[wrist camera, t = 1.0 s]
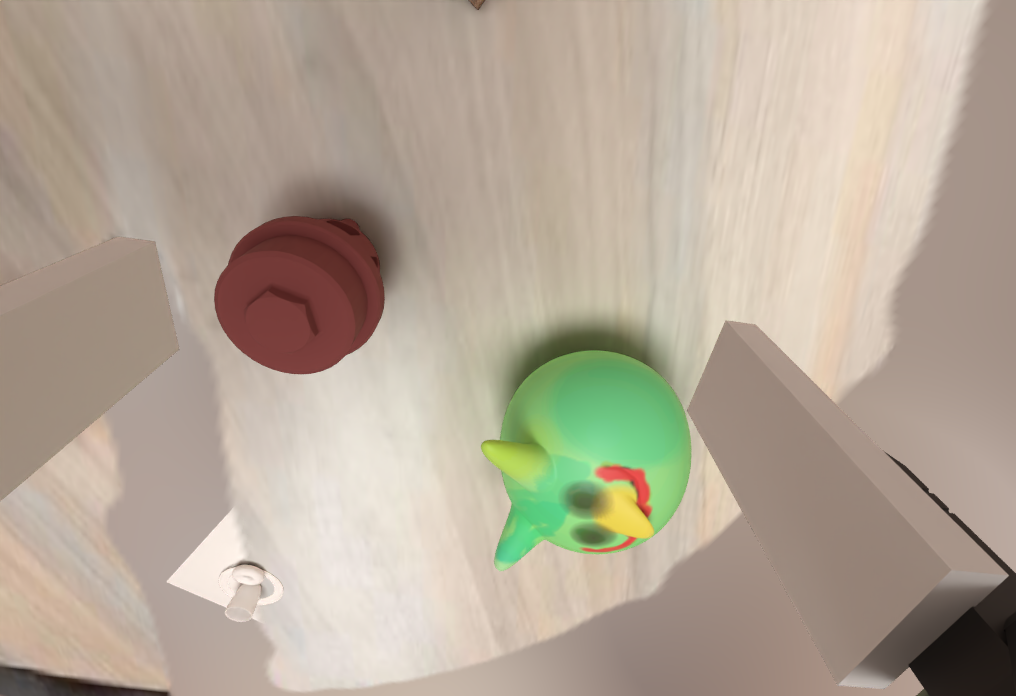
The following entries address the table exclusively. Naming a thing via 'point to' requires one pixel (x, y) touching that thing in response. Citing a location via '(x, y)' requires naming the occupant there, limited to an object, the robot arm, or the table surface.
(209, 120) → the table surface
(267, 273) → the mechanical component
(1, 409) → the robot arm
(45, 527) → the table surface
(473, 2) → the eye block
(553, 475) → the toy bird
